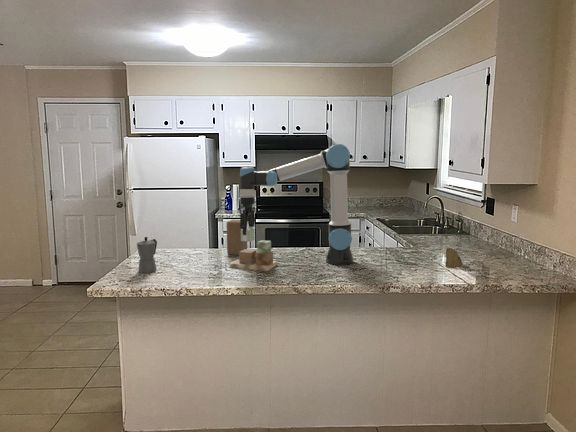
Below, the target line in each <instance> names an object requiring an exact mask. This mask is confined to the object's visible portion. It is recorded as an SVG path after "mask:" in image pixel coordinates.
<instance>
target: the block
mask: <svg viewBox="0 0 576 432" xmlns="http://www.w3.org/2000/svg"><path fill="white" fill-rule="evenodd" d="M241 230H242V229H241V228H240V219H231V220H229V221H227V222H226V247H227V248H226V253H227V255H230V256H239V252H240V251H242V250H244V249H248V241H241Z"/></svg>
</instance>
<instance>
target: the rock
mask: <svg viewBox="0 0 576 432" xmlns="http://www.w3.org/2000/svg"><path fill="white" fill-rule="evenodd" d="M460 266H463V260H462V259H461V257H460V256H459V254H458V251H457V250H456V249H453V248H451V247H450V248H449V247H447V248H446V250H445V265H444V267H445V268H447V269H449V268H451V269H452V268H457V267H460Z"/></svg>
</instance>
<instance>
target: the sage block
mask: <svg viewBox="0 0 576 432" xmlns="http://www.w3.org/2000/svg"><path fill="white" fill-rule="evenodd" d="M247 229H248V241H247V243H248V242H250V243H251V242H253V241H255V240H256V239H255V235H256V234H255V231H256V230H255V228H253V229H249V228H248V227H247ZM241 241H243V229H242V230H241Z"/></svg>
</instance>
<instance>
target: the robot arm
mask: <svg viewBox="0 0 576 432" xmlns="http://www.w3.org/2000/svg"><path fill="white" fill-rule="evenodd" d="M350 159H351V152H350V149H349V148H348V147H347V146H346V145H345V144H341V143H336V144H332V145H331V146H329V147H328V148H327V149H324V150H321V151H320V153H319V154H315V155H312V156H309V157H306V158H302V159H299V160H297V161H293V162H291V163H288V164H284V165H280V166H278V167H274V168H272V169H268V170H265V171H264V170H263V171H258V170H257V171H255V168H254V167H248V166H247V167H240V170H239V189H240V190H239V193H240V194H239V196H240V198H239V199H240V200H239V201H240V203H239V204H240V205H242V207H241V208H242V209H239V213H240V214H239V215H240V217H239V220H240V228H241V229H243V241H247V242H248V229H247V228H249V229H254V227H255V225H256V223H255V222H256V216H255V211H256V206H255V207H254V206H253V205H255V195H256V194H255V187H257V186H260V187H261V186H262V187H264V186H265V187H274V186H277V184H278V182H281V181H283V180H287V179H291V178H294V177H297V176H299V175H300V176H301V175H304V174H306V173H309V172H313V171H316V170H319V169H323V168H325V169H326V172H327V173H328V174H329V177H330V179H329V184H330V185H329V186H330V187H329V188H330V211H331V212H330V214H331V216H330V217H331V218H330V221H329V223H328V244H329V245H328V247H329V248H328V251H327V253H326V256H325V262H326V263H328V264H331V265H335V266H336V265H338V266H341V265H344V266H345V265H346V266H347V265H351V264H352V263H354V257H353V253H352V250H351V244H352V241H353V237H352V223H351V221H350V220H349V209H348V207H349V205H348V201H349V200H348V173H349V172H350V170H351V169H350V168H351V166H350V165H351V163H350Z"/></svg>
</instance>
